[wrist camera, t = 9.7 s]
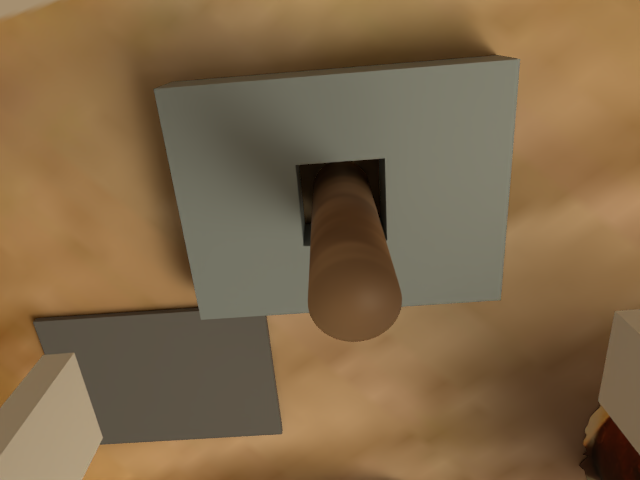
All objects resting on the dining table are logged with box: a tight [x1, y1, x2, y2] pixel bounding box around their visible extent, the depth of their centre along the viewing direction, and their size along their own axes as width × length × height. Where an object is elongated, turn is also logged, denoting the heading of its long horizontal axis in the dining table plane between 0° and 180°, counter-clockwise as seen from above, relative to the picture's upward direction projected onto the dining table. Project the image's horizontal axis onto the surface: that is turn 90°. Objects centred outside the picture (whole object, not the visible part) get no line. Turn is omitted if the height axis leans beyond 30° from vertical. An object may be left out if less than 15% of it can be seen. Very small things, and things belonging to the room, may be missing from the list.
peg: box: [308, 161, 402, 342], centre depth 21 cm, size 3×3×12 cm
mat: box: [33, 308, 282, 445], centre depth 32 cm, size 14×10×1 cm
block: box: [154, 55, 520, 320], centre depth 25 cm, size 16×12×3 cm
